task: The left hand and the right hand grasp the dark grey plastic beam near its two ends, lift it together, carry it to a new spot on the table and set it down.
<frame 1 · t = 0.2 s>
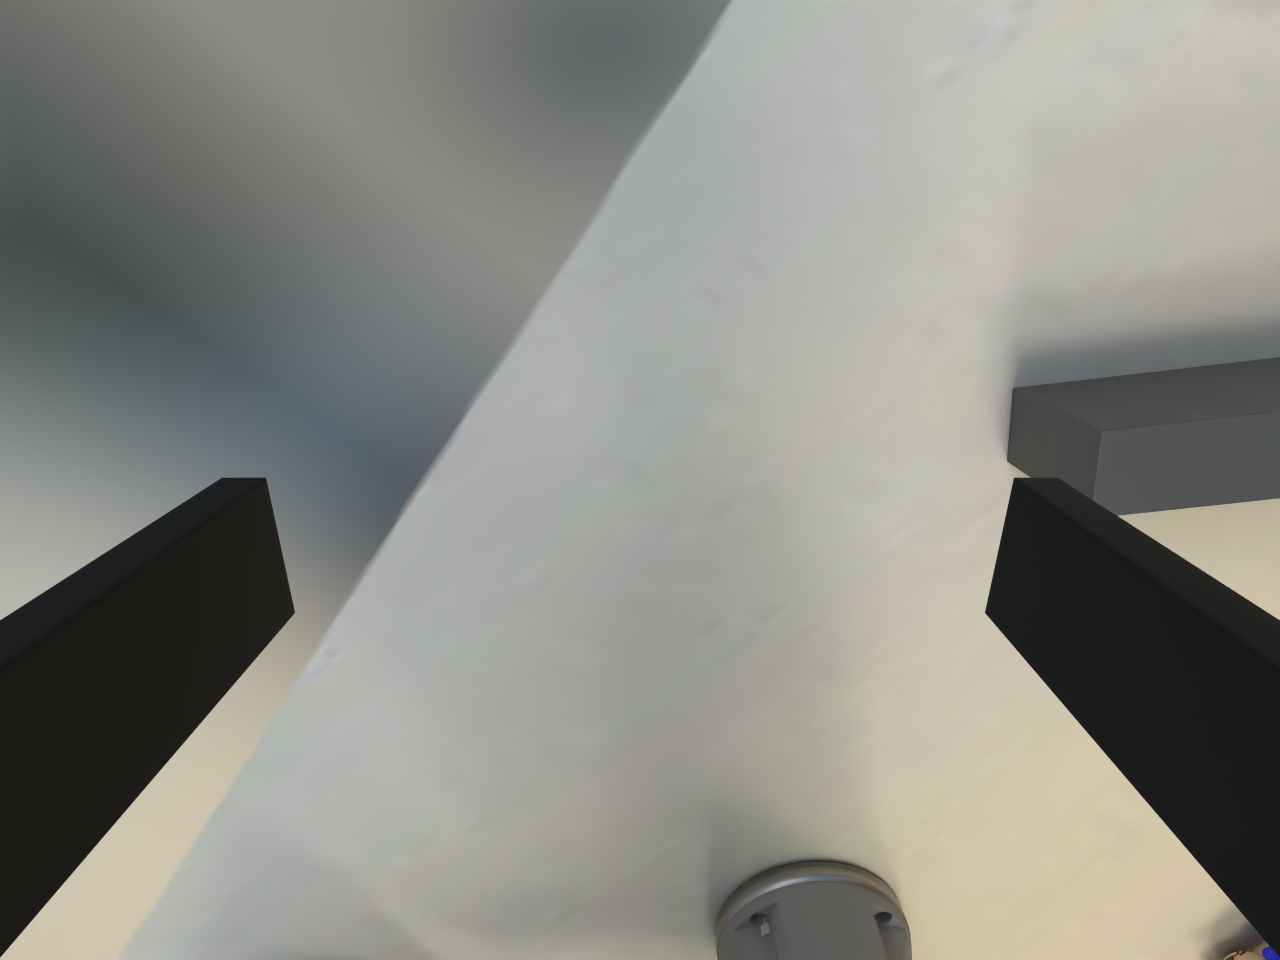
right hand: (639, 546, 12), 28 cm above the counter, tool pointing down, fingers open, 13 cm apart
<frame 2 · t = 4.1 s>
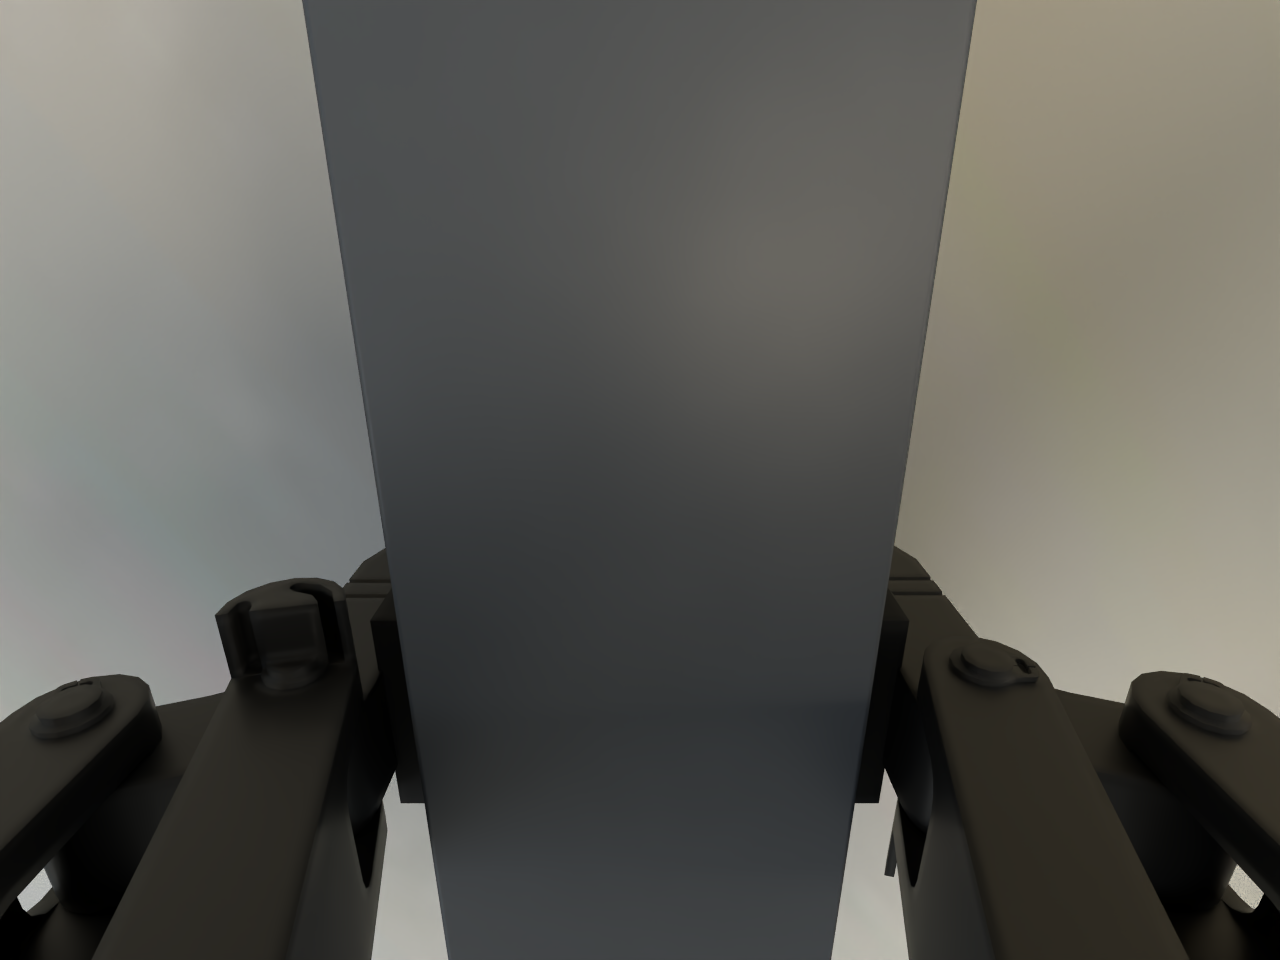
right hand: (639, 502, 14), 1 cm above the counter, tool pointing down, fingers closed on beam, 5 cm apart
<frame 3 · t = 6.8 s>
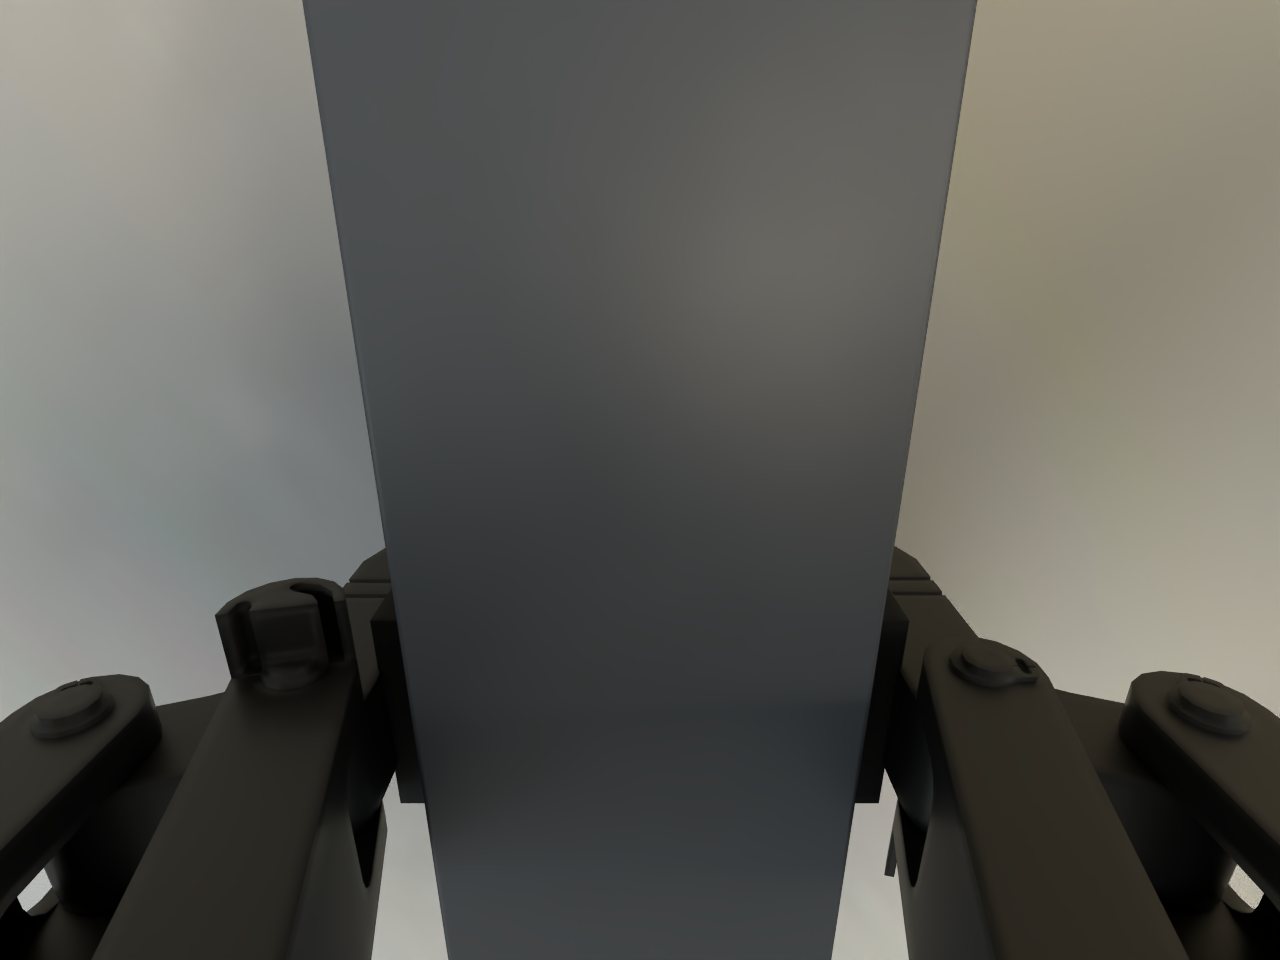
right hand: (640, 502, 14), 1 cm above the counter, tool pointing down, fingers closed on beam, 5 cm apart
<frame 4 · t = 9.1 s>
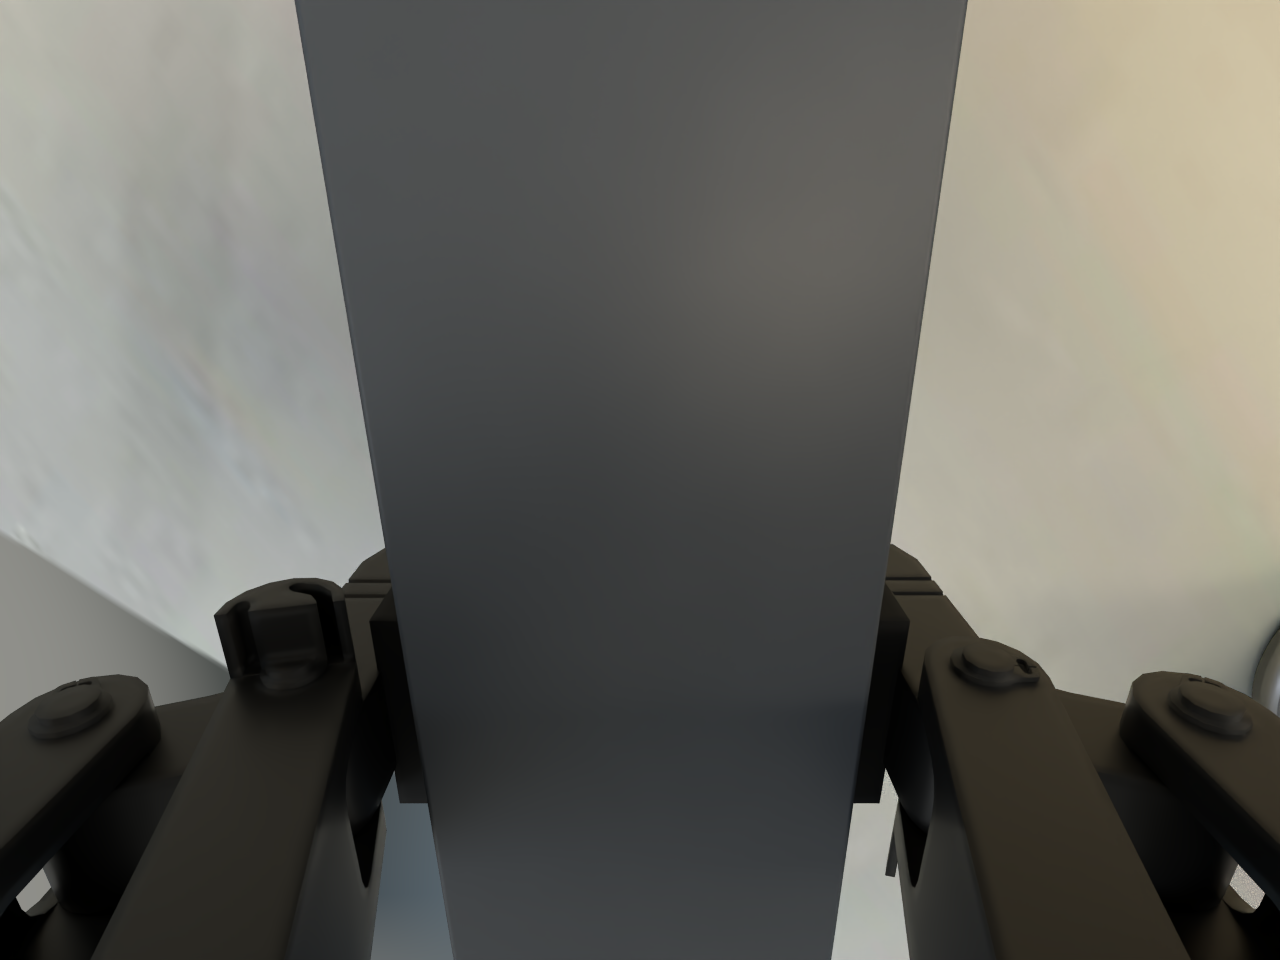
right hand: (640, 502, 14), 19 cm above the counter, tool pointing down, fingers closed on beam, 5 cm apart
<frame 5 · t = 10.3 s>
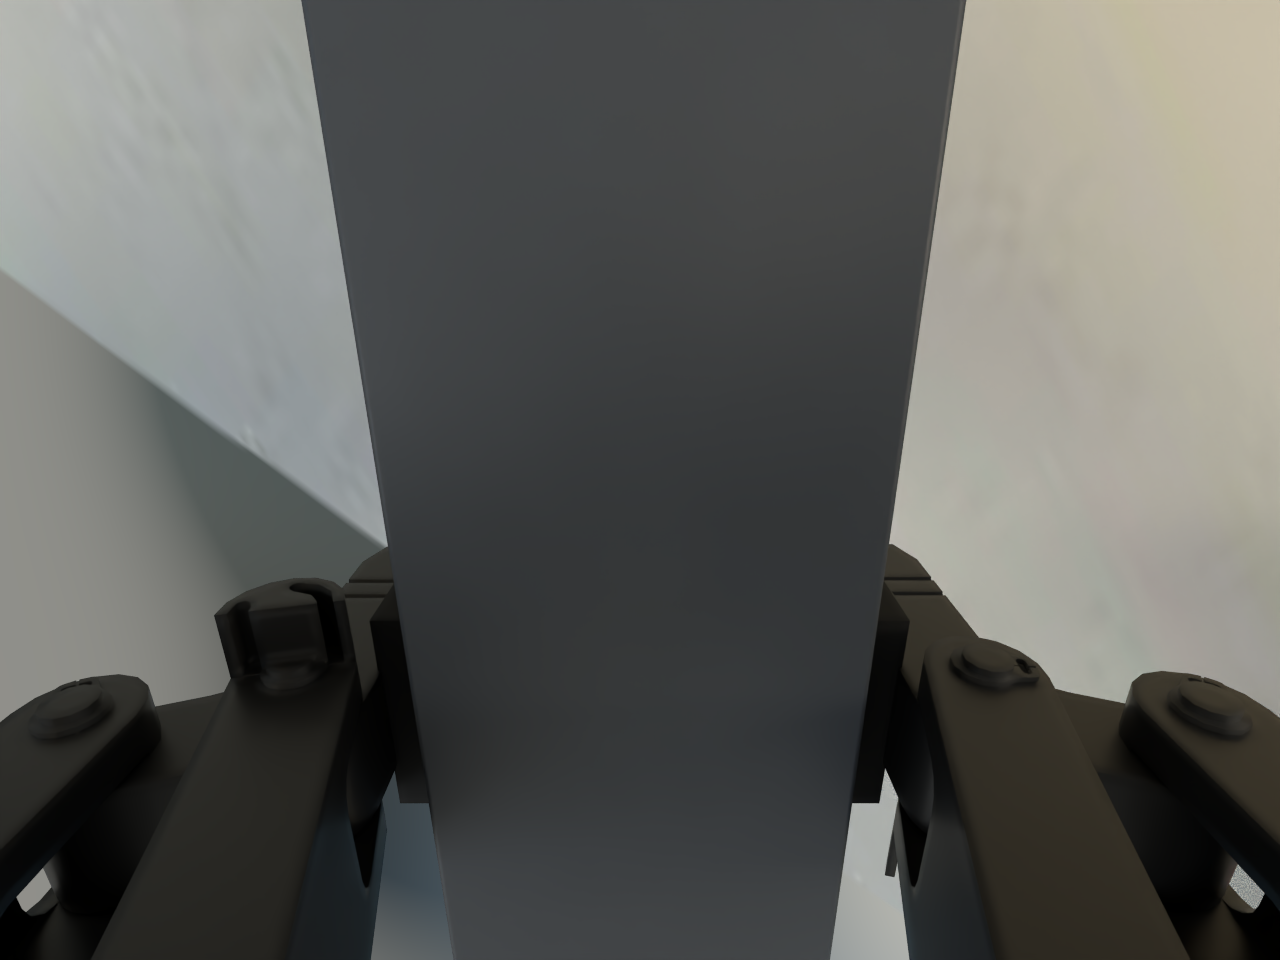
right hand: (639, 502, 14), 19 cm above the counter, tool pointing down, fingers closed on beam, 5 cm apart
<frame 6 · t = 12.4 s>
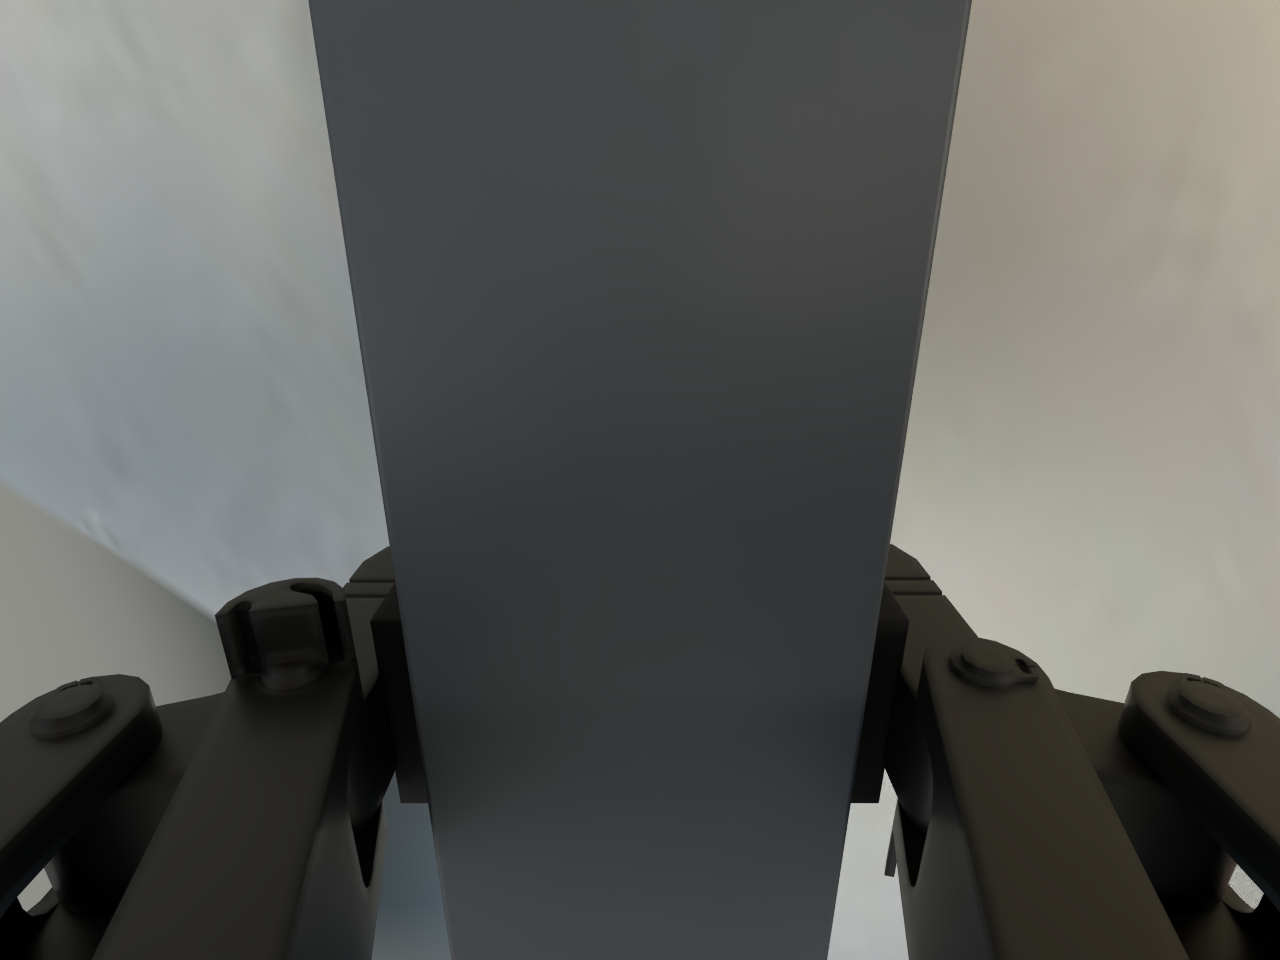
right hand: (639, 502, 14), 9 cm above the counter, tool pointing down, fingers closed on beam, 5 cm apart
when the right hand's fingers open (1 cm above the counter, at t = 14.1 s): beam stays where it is, on the counter.
when the left hand's fingers open (4 cm above the counter, at t = 14.2 s): beam stays where it is, on the counter.
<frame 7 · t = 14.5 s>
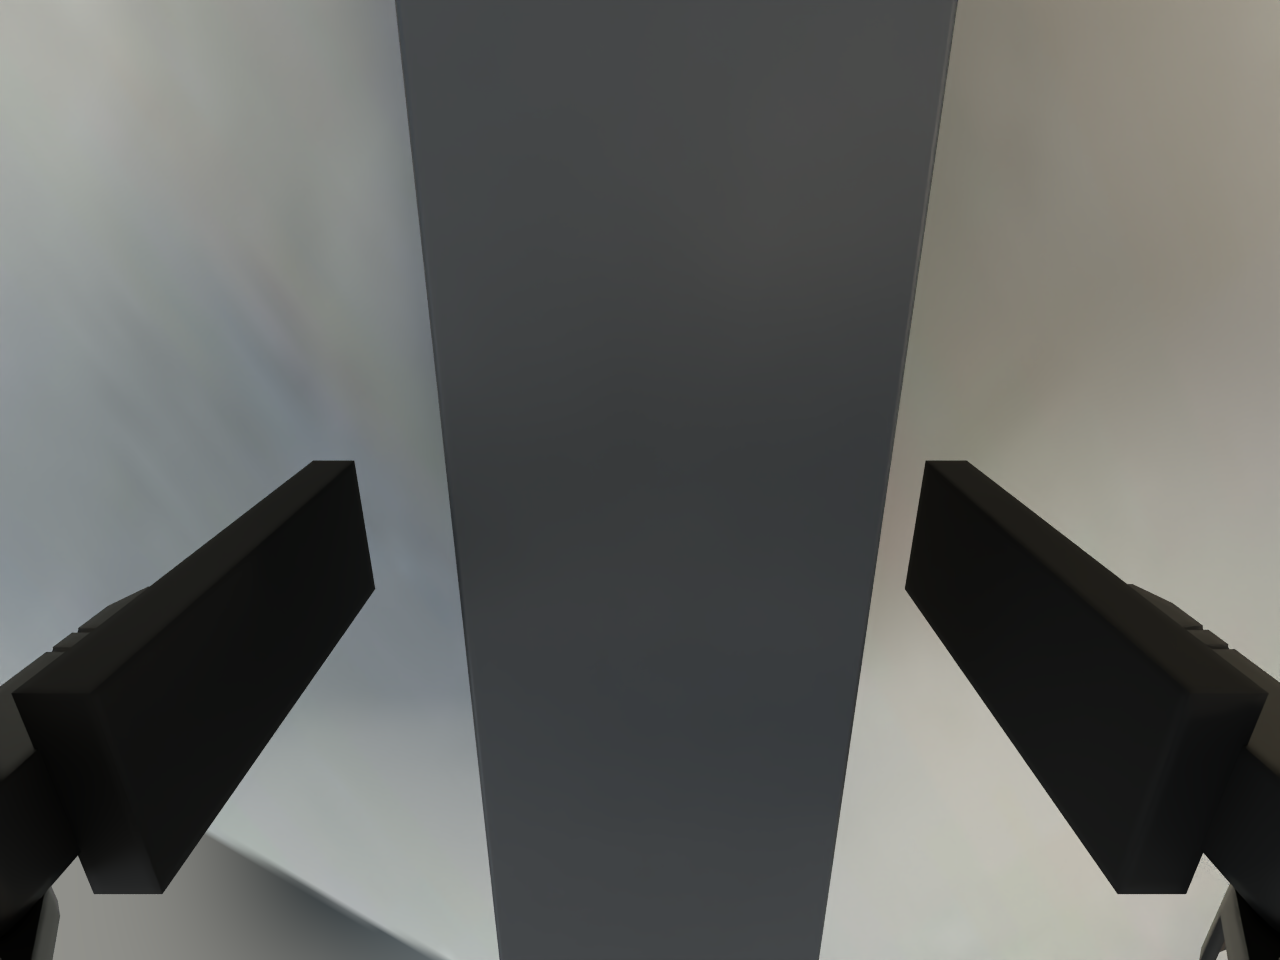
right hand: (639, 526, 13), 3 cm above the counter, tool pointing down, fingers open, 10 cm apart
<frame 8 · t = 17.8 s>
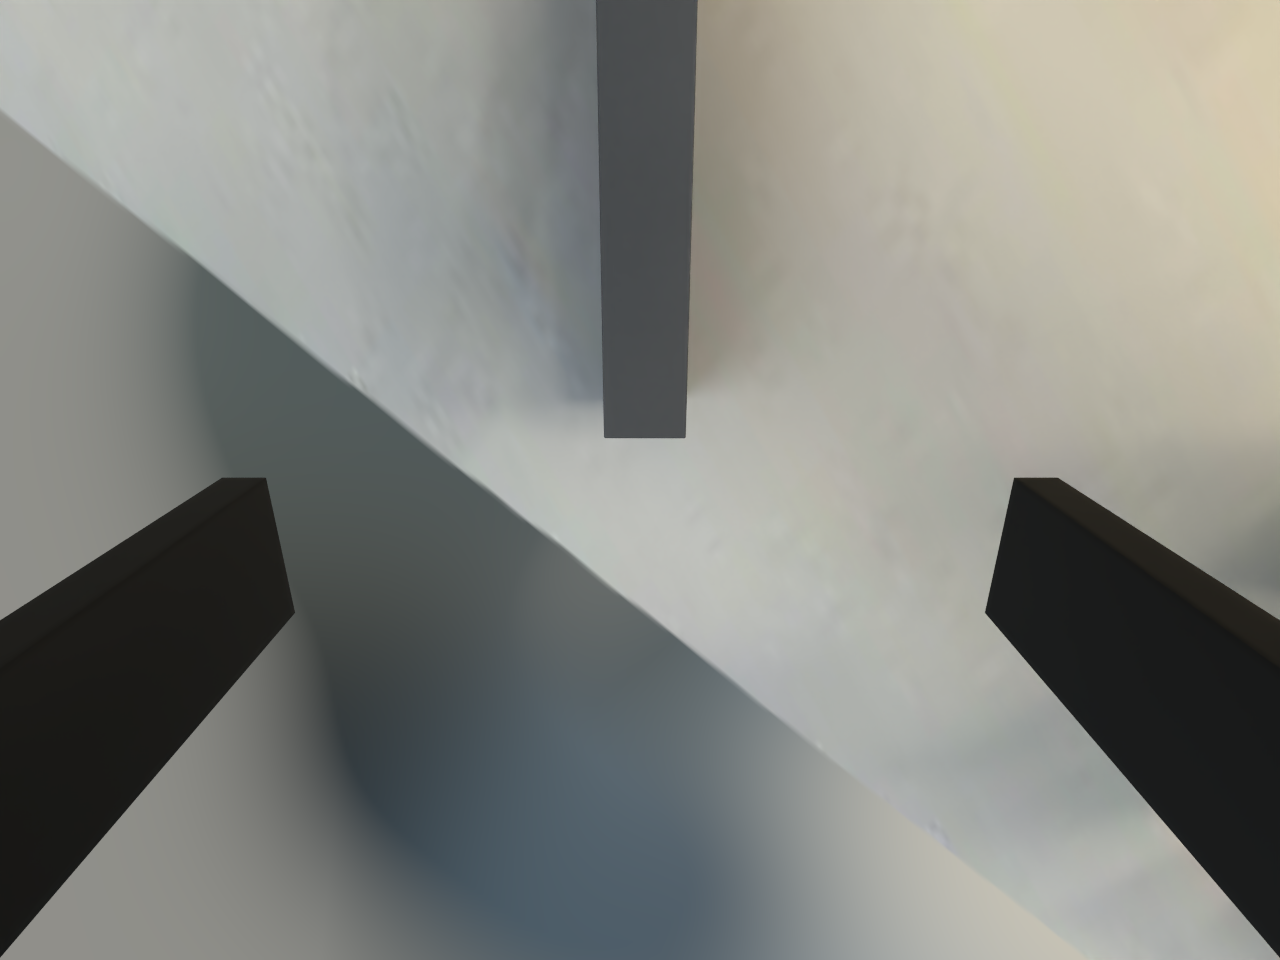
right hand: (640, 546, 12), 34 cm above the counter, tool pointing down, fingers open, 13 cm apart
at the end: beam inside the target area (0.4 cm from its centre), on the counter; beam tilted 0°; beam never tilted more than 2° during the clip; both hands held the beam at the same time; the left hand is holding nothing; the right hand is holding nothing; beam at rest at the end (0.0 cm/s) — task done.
